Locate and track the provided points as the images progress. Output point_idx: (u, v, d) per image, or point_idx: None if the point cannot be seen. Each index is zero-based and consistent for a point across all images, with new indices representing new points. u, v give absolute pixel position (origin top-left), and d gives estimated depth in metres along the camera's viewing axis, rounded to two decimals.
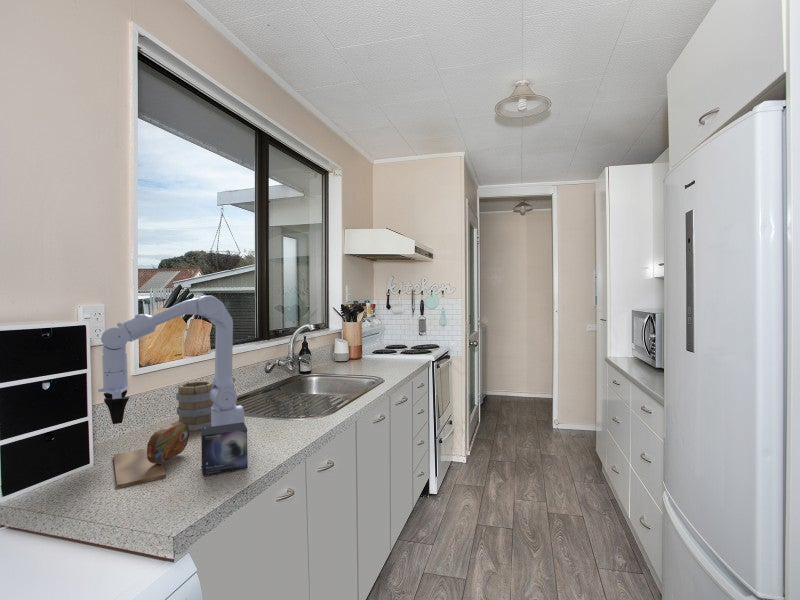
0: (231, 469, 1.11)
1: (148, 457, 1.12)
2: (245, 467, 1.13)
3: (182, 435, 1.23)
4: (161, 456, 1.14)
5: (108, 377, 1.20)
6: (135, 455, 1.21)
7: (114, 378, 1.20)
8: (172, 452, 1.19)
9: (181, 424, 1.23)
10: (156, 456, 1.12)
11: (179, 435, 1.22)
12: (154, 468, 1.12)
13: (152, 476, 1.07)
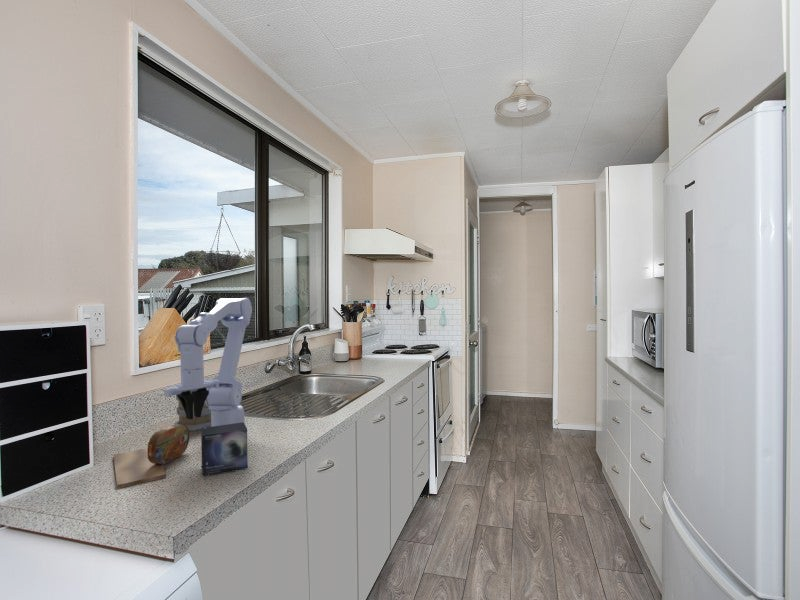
0: (231, 469, 1.11)
1: (148, 456, 1.12)
2: (245, 467, 1.13)
3: (182, 438, 1.24)
4: (161, 456, 1.14)
5: None
6: (135, 455, 1.21)
7: (181, 375, 1.20)
8: (173, 454, 1.19)
9: (182, 426, 1.23)
10: (156, 455, 1.13)
11: (179, 437, 1.22)
12: (154, 468, 1.12)
13: (152, 476, 1.07)
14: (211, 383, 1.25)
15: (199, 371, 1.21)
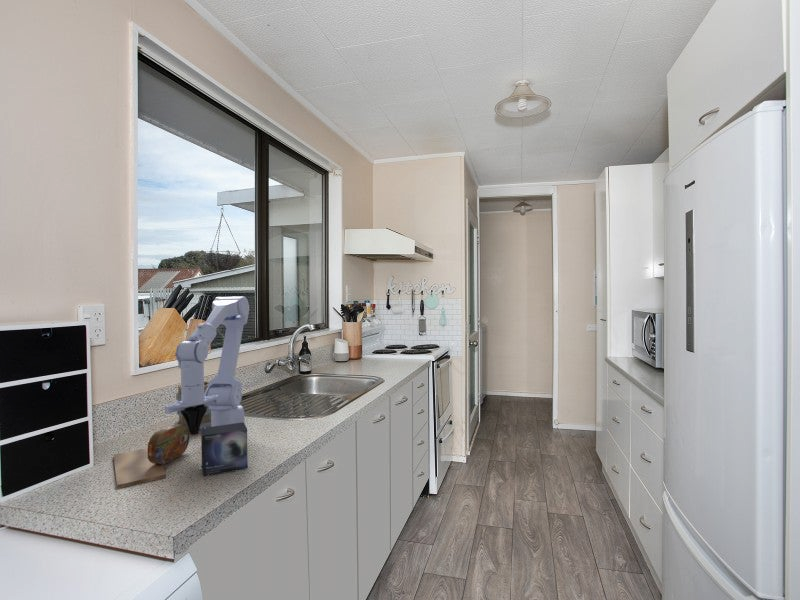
0: (231, 469, 1.11)
1: (148, 456, 1.12)
2: (245, 467, 1.13)
3: (182, 438, 1.24)
4: (161, 456, 1.14)
5: None
6: (135, 455, 1.21)
7: (182, 392, 1.21)
8: (173, 454, 1.19)
9: (182, 426, 1.23)
10: (156, 455, 1.13)
11: (179, 437, 1.22)
12: (154, 468, 1.12)
13: (152, 476, 1.07)
14: (211, 399, 1.25)
15: (199, 387, 1.21)
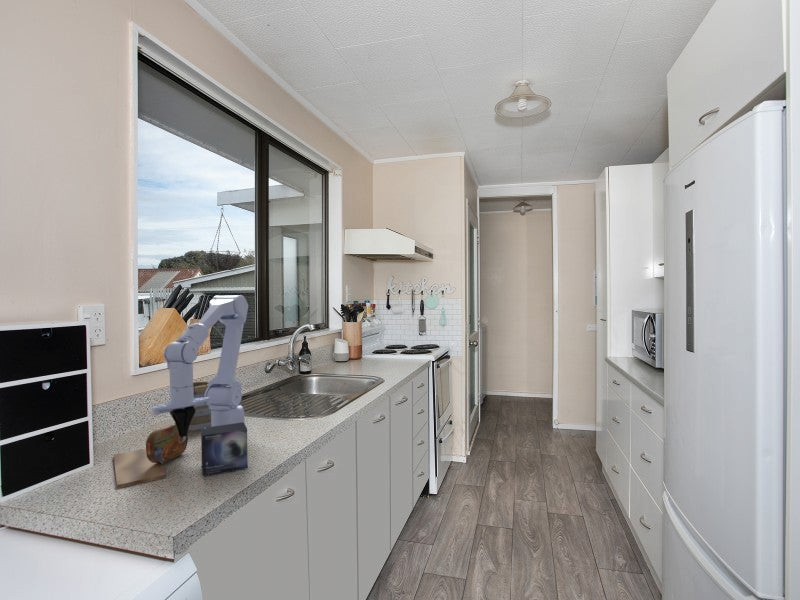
0: (231, 469, 1.11)
1: (147, 455, 1.12)
2: (245, 467, 1.13)
3: (181, 437, 1.24)
4: (161, 454, 1.15)
5: None
6: (135, 455, 1.21)
7: (170, 393, 1.19)
8: (172, 453, 1.19)
9: None
10: (155, 453, 1.13)
11: (177, 436, 1.22)
12: (154, 468, 1.12)
13: (152, 476, 1.07)
14: (201, 401, 1.23)
15: (187, 389, 1.19)
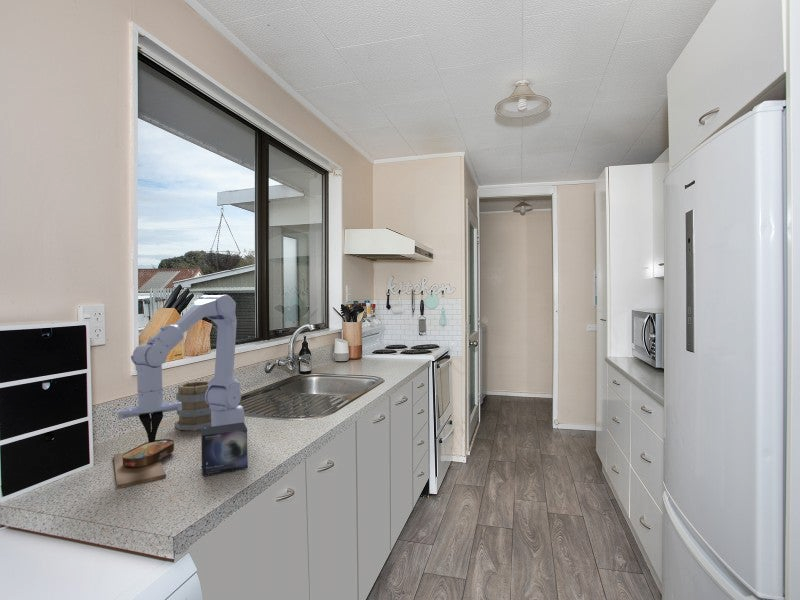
0: (231, 469, 1.11)
1: (135, 465, 1.12)
2: (245, 467, 1.13)
3: (159, 443, 1.24)
4: (145, 455, 1.15)
5: None
6: None
7: None
8: (161, 449, 1.20)
9: (147, 443, 1.24)
10: (137, 458, 1.13)
11: (154, 445, 1.23)
12: (154, 468, 1.12)
13: (152, 476, 1.07)
14: (171, 406, 1.18)
15: (153, 394, 1.15)
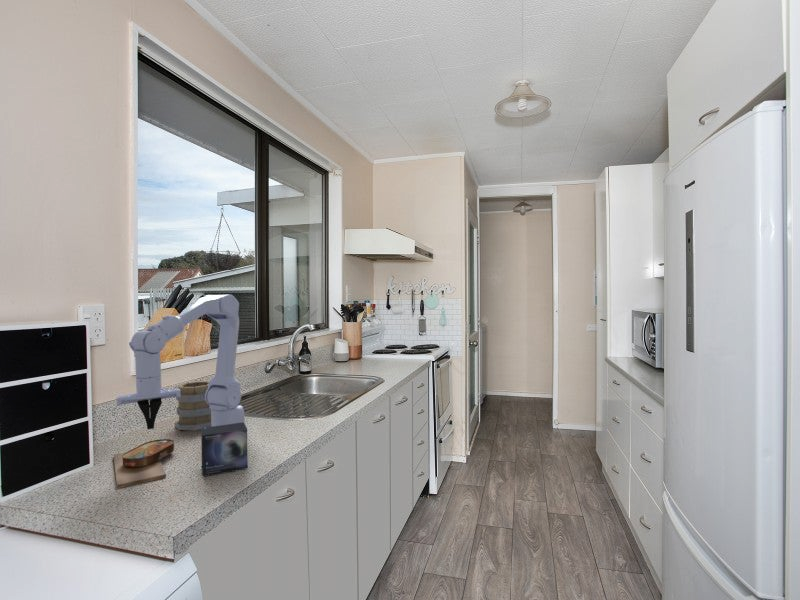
0: (231, 469, 1.11)
1: (135, 465, 1.12)
2: (245, 467, 1.13)
3: (159, 443, 1.24)
4: (145, 455, 1.15)
5: None
6: None
7: (136, 383, 1.15)
8: (161, 449, 1.20)
9: (147, 443, 1.24)
10: (137, 458, 1.13)
11: (154, 445, 1.23)
12: (154, 468, 1.12)
13: (152, 476, 1.07)
14: (169, 393, 1.18)
15: (152, 380, 1.15)
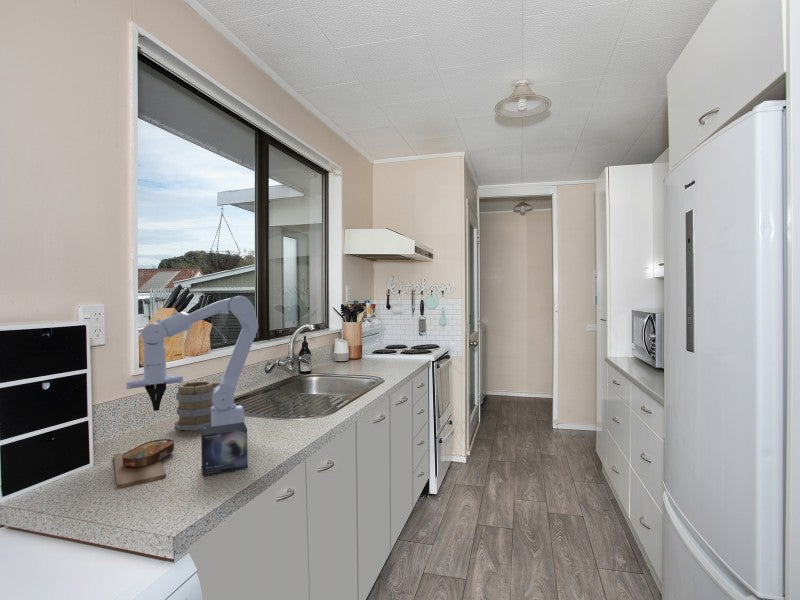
0: (231, 469, 1.11)
1: (135, 465, 1.12)
2: (245, 467, 1.13)
3: (159, 443, 1.24)
4: (145, 455, 1.15)
5: None
6: None
7: (144, 370, 1.30)
8: (161, 449, 1.20)
9: (147, 443, 1.24)
10: (137, 458, 1.13)
11: (154, 445, 1.23)
12: (154, 468, 1.12)
13: (152, 476, 1.07)
14: (173, 379, 1.33)
15: (158, 367, 1.29)
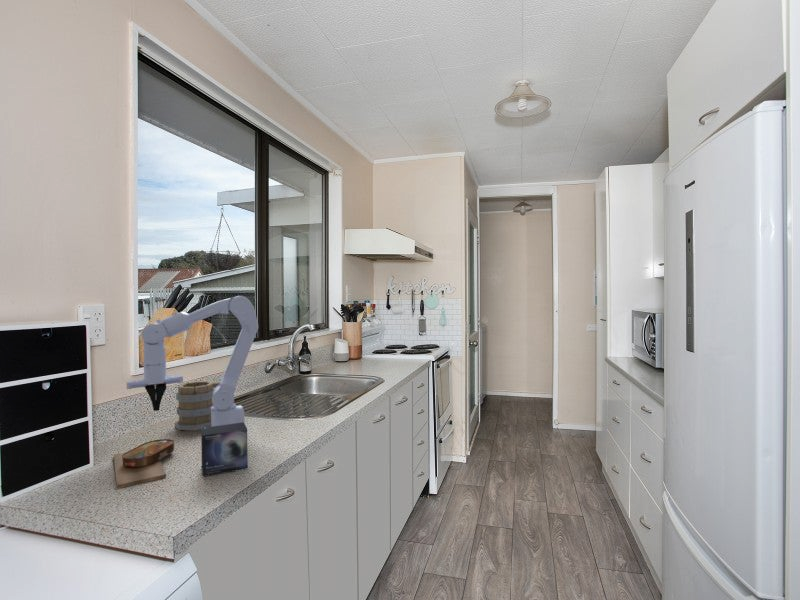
0: (231, 469, 1.11)
1: (135, 465, 1.12)
2: (245, 467, 1.13)
3: (159, 443, 1.24)
4: (145, 455, 1.15)
5: None
6: None
7: (144, 370, 1.30)
8: (161, 449, 1.20)
9: (147, 443, 1.24)
10: (137, 458, 1.13)
11: (154, 445, 1.23)
12: (154, 468, 1.12)
13: (152, 476, 1.07)
14: (173, 379, 1.33)
15: (158, 367, 1.29)
